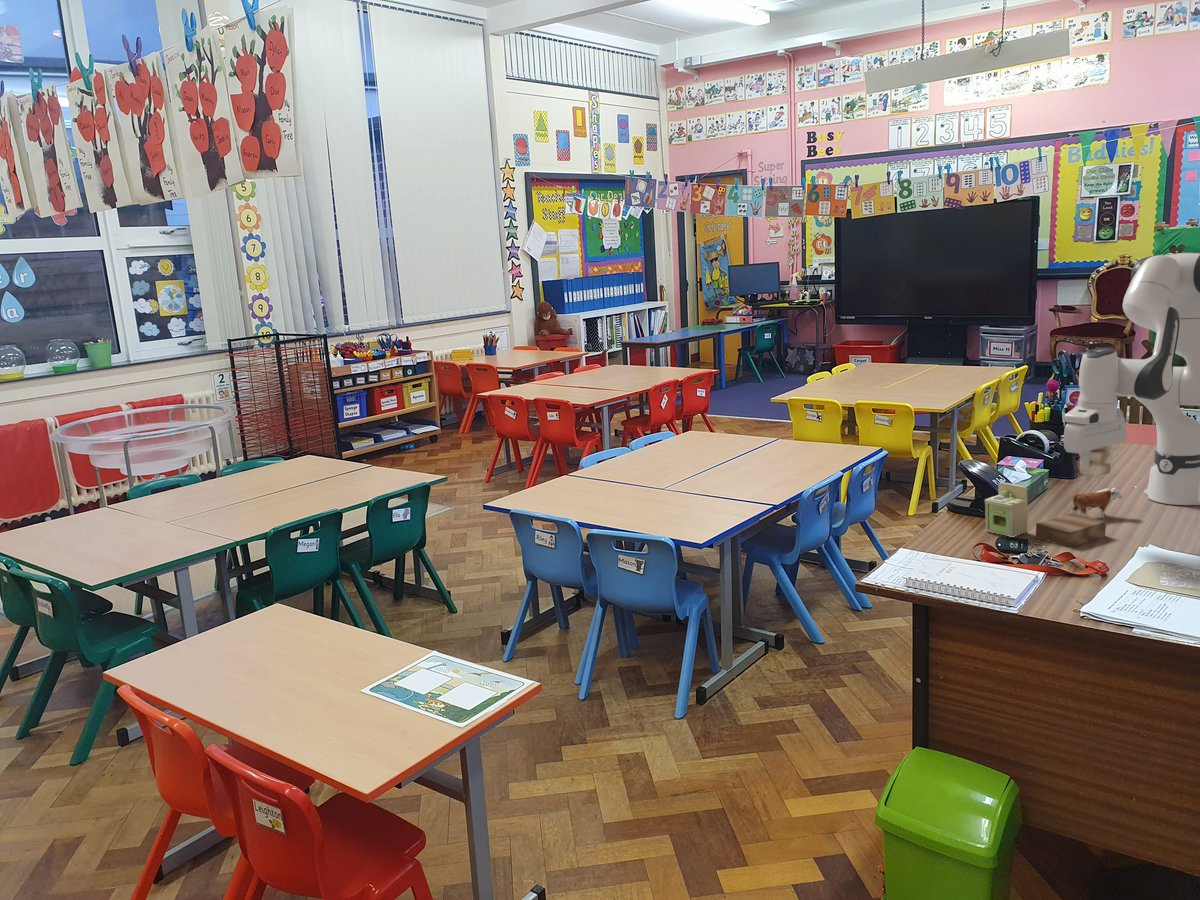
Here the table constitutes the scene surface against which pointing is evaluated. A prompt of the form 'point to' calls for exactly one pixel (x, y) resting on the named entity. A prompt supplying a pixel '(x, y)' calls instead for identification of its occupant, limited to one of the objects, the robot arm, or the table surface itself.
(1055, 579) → the table surface
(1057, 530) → the base block
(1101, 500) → the bull figurine
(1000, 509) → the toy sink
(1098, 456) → the maple block
